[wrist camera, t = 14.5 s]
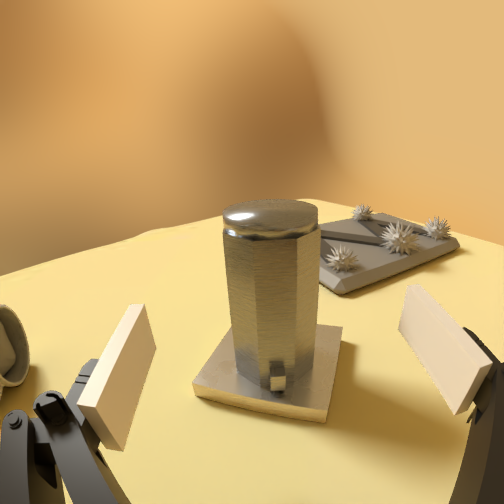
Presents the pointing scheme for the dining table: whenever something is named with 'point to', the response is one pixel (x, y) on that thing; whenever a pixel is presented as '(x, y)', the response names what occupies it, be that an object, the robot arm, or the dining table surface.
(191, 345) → the dining table surface
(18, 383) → the ceramic mug
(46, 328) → the dining table surface
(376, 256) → the decorative plate
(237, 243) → the trash can
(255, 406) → the square metal stand
